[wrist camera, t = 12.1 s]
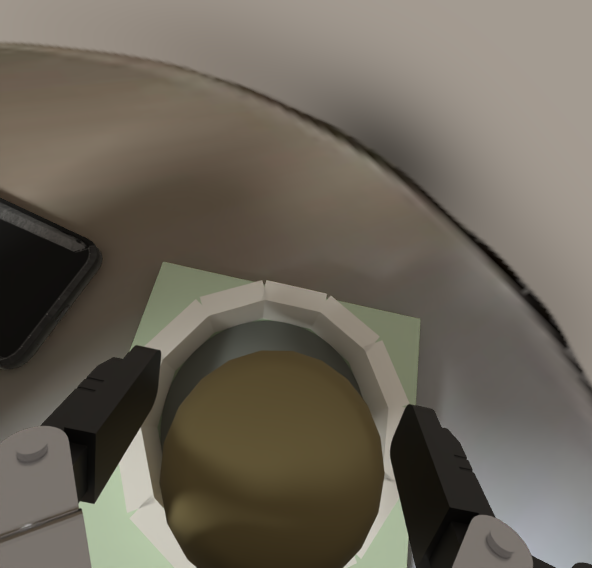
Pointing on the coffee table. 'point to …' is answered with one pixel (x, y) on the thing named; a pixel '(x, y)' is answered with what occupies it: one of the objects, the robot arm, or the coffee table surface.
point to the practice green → (232, 344)
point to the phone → (37, 279)
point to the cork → (272, 466)
